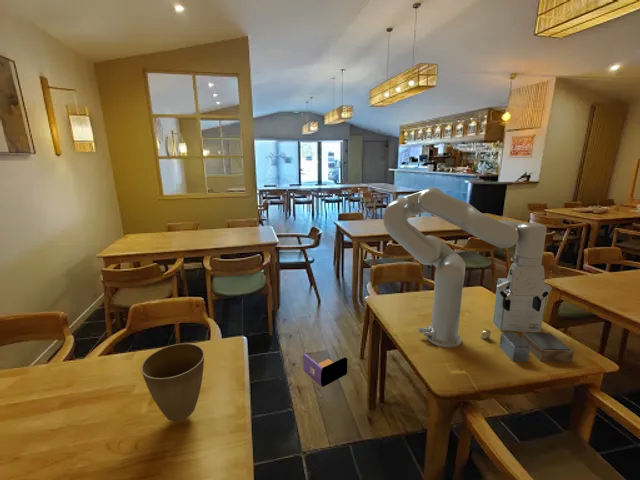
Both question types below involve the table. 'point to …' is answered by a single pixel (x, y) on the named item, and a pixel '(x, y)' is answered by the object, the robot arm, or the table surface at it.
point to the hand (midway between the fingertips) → (520, 309)
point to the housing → (514, 347)
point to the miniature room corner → (324, 370)
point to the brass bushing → (485, 334)
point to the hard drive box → (517, 313)
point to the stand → (547, 347)
